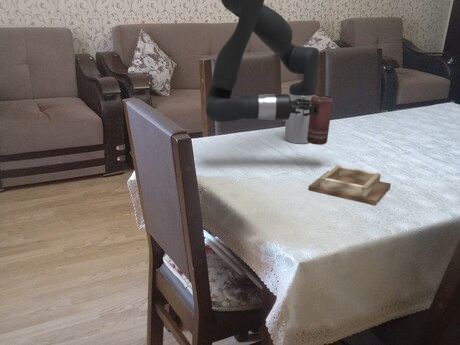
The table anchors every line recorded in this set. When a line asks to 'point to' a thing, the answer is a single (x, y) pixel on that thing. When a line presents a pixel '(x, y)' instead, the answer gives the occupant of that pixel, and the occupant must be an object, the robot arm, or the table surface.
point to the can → (320, 120)
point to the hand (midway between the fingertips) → (331, 106)
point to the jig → (351, 185)
